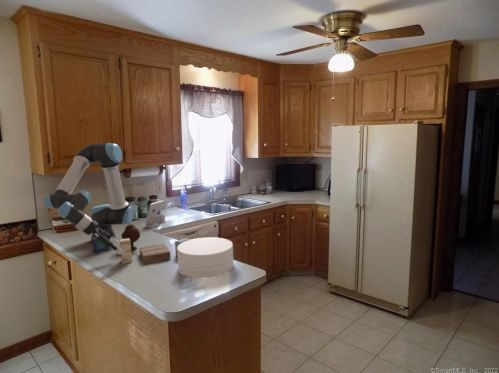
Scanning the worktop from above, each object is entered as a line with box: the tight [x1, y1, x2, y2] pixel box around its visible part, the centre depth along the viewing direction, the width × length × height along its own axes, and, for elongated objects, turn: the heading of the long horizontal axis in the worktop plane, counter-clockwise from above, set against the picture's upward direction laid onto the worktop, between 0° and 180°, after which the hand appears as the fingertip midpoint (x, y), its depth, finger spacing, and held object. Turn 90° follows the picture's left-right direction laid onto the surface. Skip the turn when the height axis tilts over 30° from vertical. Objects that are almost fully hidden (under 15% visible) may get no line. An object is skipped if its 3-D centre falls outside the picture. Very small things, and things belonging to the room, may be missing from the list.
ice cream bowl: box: [121, 223, 141, 252], centre depth 205 cm, size 11×11×15 cm
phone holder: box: [141, 200, 167, 229], centre depth 261 cm, size 17×10×18 cm, turn 155°
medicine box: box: [174, 237, 191, 258], centre depth 193 cm, size 8×4×9 cm, turn 141°
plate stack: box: [177, 236, 234, 279], centre depth 175 cm, size 28×28×12 cm
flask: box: [91, 237, 110, 254], centre depth 203 cm, size 9×3×11 cm, turn 138°
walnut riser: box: [139, 243, 171, 264], centre depth 192 cm, size 16×14×4 cm
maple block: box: [119, 238, 133, 265], centre depth 185 cm, size 5×5×12 cm
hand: (120, 248), depth 183 cm, fingers open, 13 cm apart
